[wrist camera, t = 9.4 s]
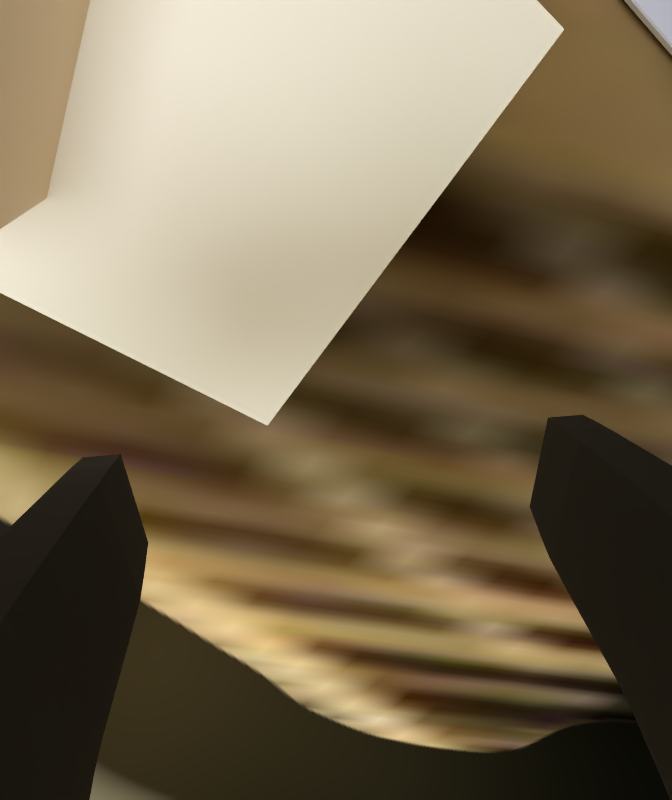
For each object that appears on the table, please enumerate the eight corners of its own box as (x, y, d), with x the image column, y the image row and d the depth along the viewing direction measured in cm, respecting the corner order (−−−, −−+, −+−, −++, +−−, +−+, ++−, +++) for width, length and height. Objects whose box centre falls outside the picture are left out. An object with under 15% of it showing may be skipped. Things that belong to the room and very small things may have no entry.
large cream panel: (-240, -803, 8) (-526, -1279, 5) (554, 29, 15) (625, 25, 12) (-340, 110, 14) (-505, 126, 11) (267, 416, 21) (266, 478, 18)
